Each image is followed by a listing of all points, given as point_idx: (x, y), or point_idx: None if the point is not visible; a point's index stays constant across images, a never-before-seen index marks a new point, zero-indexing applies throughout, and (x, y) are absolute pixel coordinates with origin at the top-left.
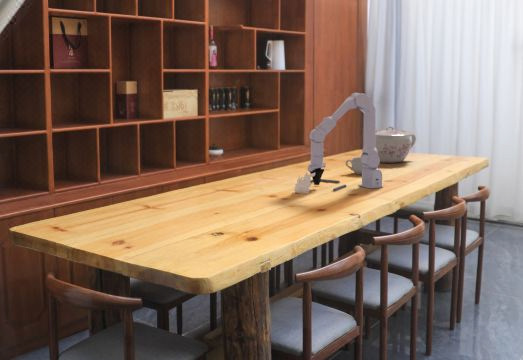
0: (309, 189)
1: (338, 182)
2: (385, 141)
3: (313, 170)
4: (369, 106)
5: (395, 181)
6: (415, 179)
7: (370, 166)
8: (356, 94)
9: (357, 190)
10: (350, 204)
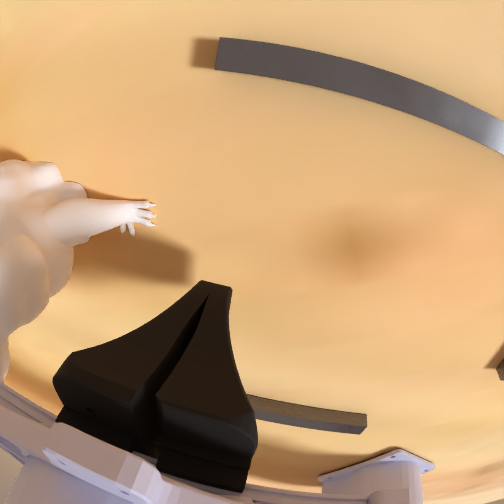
0: (154, 225)
1: (498, 370)
2: None
3: (70, 411)
4: None
5: (477, 478)
6: (493, 487)
7: None
8: None
9: (265, 453)
10: (27, 396)
